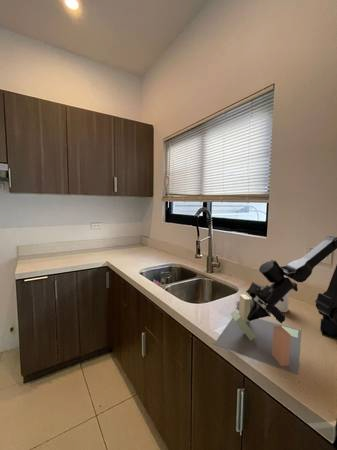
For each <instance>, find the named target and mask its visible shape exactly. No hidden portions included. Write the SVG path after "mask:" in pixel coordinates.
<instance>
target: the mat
mask: <svg viewBox="0 0 337 450" xmlns="http://www.w3.org/2000/svg"><path fill="white" fill-rule="evenodd" d="M237 313H238V314H239V312H237ZM245 323H246V324H247V325H248V327H249V328H250V329H251V331H252V332H253V333H254V335H255V336H256V337H255V338H254V339H253V340H251V341H250V339H249V338H248V337H247V336H246V334H245V333H244V332H243V330H242V329H241V328H240V326H239V325H238V324H237V322H236V321H235V320H234V319H233V317H231V320H230V321H229V322H228V323H227V325H226V326H225V328H224V329H223V331H222V332H221V333H220V334H219V336H218V337H217V339H216V340H215V342H214V343H213V345H215V346H218V347H221V348H223V349H226V350H229V351H231V352H234V353H237V354H239V355H242V356H244V357H248V358H251V359H253V360H256V361H259V362H262V363H265V364H266V365H270V366H272V367H275V368H277V369H281V370H284V371H286V372H288V373H291V374H294V375H299V369H300V368H299V366H300V365H299V364H300V363H299V362H300V354H301V353H300V351H301V342H302V329H298V328H295V327H290V326H286V325H285V324H284V325H283V324H281V323H275V322H272V321H268V320H264V319H262V318H259V319H255V320H252V321H249V322H245ZM274 326H281V327H282V328H284V329H285V330H286V331H287V332H288V333H289V334H290V335H291V340H290V356H289V366H281V365H280V364H279V363H278V362H277V360H276V359H275V358H274V357H273V356H272V348H273V329H274Z"/></svg>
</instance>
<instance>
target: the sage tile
mask: <svg viewBox="0 0 337 450" xmlns="http://www.w3.org/2000/svg"><path fill="white" fill-rule="evenodd" d="M238 313H239V312H238V311H237V310H234V311H232V312H231V313H230V316H231V318H233V319H234V320H235V321H236V322H237V324H238V325H239V326H240V328H241V329H242V330H243V332H244V333H245V334H246V336H247V337H248V338H249V339H250V341H251V340H253V339H254V338H255V337H256V336H255V335H254V333H253V332H252V331H251V329H250V328H249V327H248V325H247V324H246V323H245V321H244V320H243V319H242V317H241V316H240V315H239V314H238Z"/></svg>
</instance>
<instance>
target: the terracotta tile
mask: <svg viewBox="0 0 337 450" xmlns="http://www.w3.org/2000/svg"><path fill="white" fill-rule="evenodd" d="M290 340H291V335H290V334H289V333H288V332H287V331H286V330H285V329H284V328H282V327H281V326H274V329H273V348H272V356H273V357H274V358H275V359H276V360H277V362H278V363H279V364H280V365H281V366H289V356H290Z"/></svg>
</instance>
